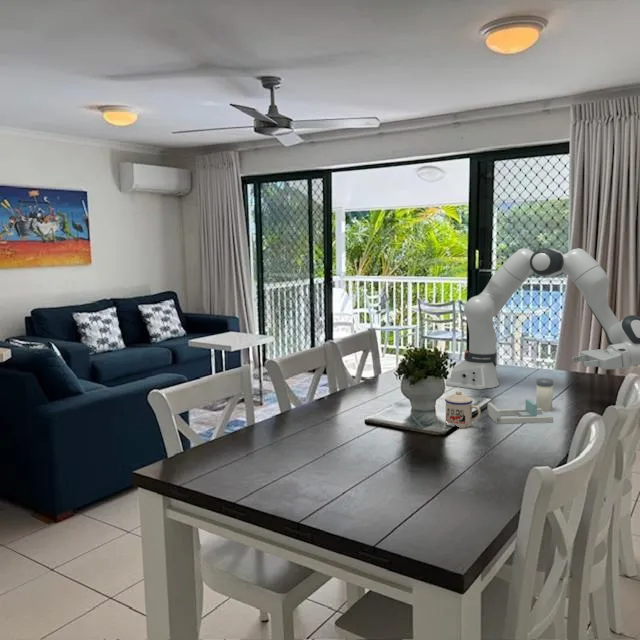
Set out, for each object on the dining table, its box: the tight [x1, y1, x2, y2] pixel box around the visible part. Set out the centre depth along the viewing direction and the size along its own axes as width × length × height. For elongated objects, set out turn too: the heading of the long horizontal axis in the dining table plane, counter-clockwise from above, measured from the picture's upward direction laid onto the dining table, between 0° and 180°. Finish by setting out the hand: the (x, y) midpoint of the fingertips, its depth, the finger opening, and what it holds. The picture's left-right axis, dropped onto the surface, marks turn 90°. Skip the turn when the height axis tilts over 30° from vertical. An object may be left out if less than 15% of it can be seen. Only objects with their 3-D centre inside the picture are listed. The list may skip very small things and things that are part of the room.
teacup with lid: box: [444, 390, 481, 429], centre depth 205 cm, size 12×9×12 cm
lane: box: [487, 402, 554, 424], centre depth 212 cm, size 19×11×4 cm, turn 91°
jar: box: [535, 378, 554, 412], centre depth 221 cm, size 6×6×11 cm
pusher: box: [517, 398, 538, 417], centre depth 212 cm, size 4×7×6 cm, turn 1°
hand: (578, 362), depth 219 cm, fingers open, 8 cm apart
